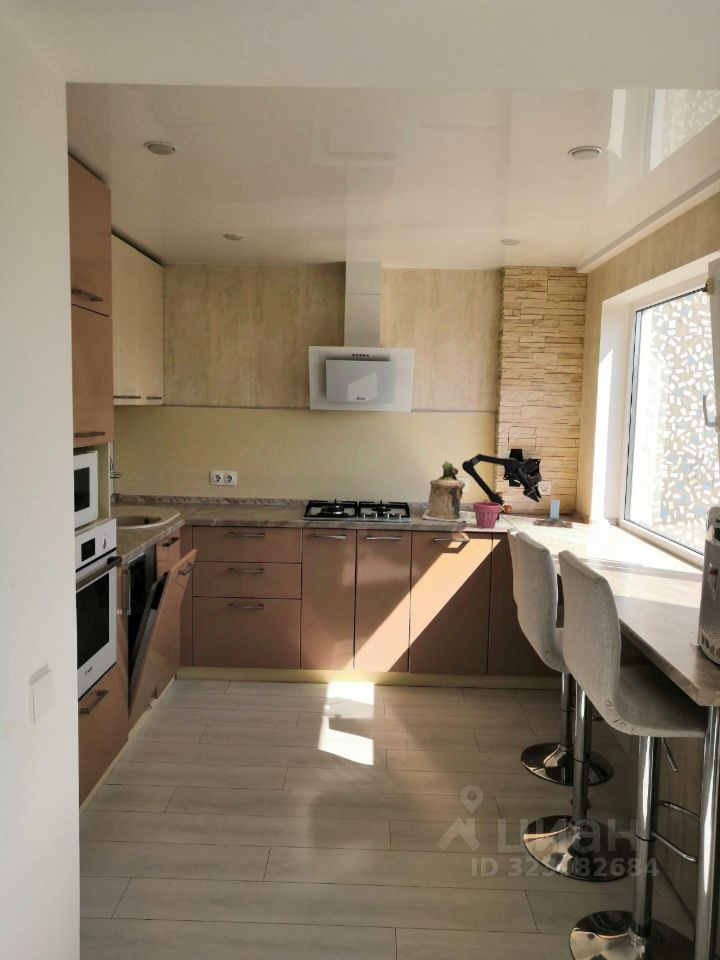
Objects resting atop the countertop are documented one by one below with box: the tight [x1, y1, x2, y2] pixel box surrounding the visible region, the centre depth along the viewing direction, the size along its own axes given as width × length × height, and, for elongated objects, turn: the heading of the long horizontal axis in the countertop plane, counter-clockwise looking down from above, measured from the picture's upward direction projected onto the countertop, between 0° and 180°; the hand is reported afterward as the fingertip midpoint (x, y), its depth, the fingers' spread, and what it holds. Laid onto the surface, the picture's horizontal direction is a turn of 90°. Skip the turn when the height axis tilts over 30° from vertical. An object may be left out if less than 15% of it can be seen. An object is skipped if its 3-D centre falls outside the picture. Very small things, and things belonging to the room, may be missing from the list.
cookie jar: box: [421, 461, 468, 522], centre depth 420 cm, size 25×25×32 cm
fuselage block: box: [549, 499, 561, 519], centre depth 414 cm, size 5×5×12 cm
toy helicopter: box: [482, 490, 513, 514], centre depth 446 cm, size 8×21×14 cm, turn 122°
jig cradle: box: [534, 514, 573, 529], centre depth 415 cm, size 20×13×4 cm, turn 76°
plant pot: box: [472, 501, 501, 529], centre depth 397 cm, size 14×14×13 cm
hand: (539, 500), depth 416 cm, fingers open, 9 cm apart
